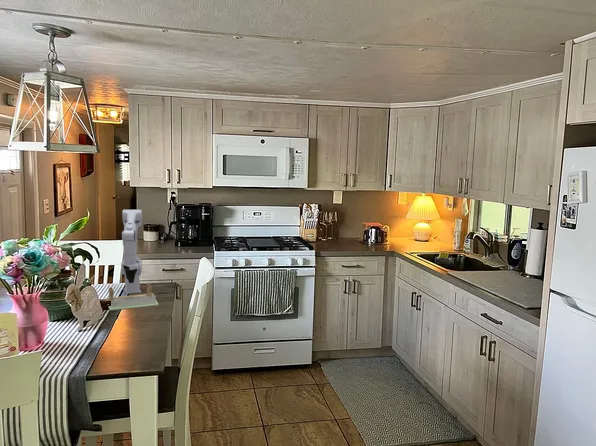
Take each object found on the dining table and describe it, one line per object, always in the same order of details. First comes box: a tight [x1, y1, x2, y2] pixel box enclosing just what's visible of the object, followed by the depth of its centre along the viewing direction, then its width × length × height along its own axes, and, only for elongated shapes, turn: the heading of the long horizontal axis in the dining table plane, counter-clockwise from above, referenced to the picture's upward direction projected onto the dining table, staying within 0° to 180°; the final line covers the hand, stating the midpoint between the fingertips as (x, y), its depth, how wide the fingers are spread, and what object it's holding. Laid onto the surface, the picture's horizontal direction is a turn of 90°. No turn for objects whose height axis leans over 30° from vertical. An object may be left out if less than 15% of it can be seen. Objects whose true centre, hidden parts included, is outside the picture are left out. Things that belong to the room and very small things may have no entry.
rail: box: [111, 294, 157, 308], centre depth 229 cm, size 20×3×3 cm, turn 117°
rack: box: [104, 283, 155, 301], centre depth 237 cm, size 7×23×6 cm, turn 117°
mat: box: [108, 300, 159, 312], centre depth 229 cm, size 8×22×1 cm, turn 117°
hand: (130, 281), depth 237 cm, fingers open, 7 cm apart
